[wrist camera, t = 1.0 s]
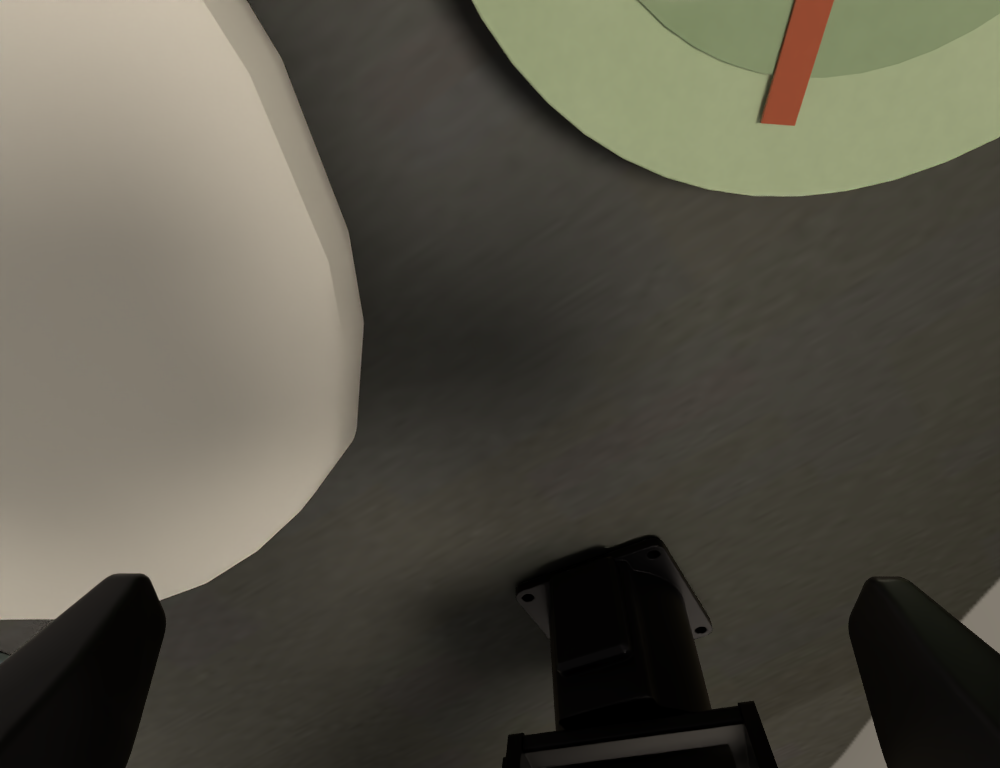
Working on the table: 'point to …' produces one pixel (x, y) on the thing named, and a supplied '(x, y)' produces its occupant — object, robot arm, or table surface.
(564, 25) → the green disc with post
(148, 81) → the white round disc
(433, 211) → the table surface
